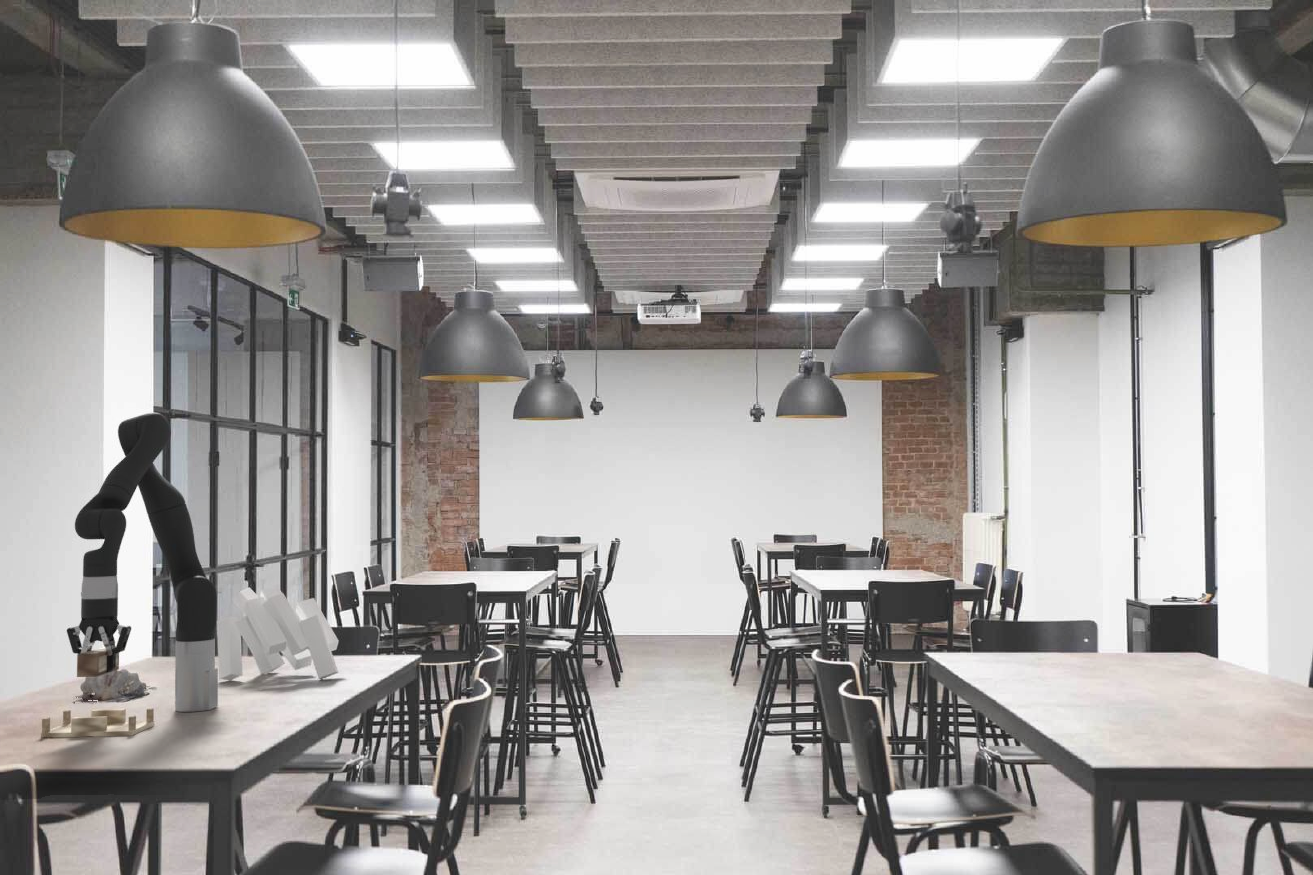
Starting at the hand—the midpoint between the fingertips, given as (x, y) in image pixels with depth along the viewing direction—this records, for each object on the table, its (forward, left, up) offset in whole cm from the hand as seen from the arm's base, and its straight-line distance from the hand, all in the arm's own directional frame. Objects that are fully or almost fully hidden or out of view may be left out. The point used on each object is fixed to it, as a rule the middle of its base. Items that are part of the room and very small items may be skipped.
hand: (98, 671), depth 262 cm
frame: (0, 0, 0) cm, 0 cm away
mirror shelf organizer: (0, 0, -13) cm, 13 cm away
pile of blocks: (-17, -79, -14) cm, 82 cm away
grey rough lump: (+20, -54, -14) cm, 60 cm away
